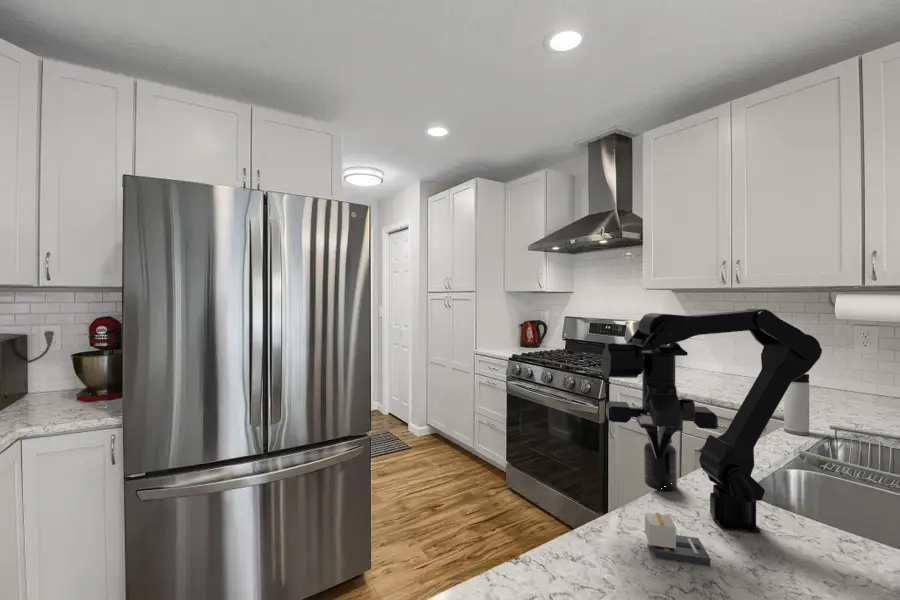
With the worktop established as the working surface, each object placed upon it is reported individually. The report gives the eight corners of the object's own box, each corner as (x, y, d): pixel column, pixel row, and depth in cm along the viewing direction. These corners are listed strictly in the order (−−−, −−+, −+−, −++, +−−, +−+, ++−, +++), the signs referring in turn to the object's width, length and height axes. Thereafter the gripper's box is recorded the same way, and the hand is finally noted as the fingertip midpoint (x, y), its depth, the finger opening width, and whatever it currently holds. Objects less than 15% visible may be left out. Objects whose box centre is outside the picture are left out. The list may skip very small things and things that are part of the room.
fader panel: (698, 544, 73) (698, 537, 73) (710, 566, 67) (710, 557, 67) (648, 538, 75) (648, 530, 75) (655, 558, 69) (656, 550, 69)
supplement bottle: (666, 478, 100) (666, 428, 100) (683, 491, 93) (683, 438, 93) (638, 479, 100) (638, 428, 100) (653, 492, 93) (653, 438, 93)
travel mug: (778, 429, 138) (778, 369, 138) (796, 429, 138) (796, 368, 138) (795, 436, 131) (796, 372, 131) (814, 435, 132) (814, 372, 132)
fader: (669, 535, 73) (669, 513, 73) (675, 548, 69) (675, 525, 69) (644, 532, 74) (644, 510, 74) (649, 544, 70) (649, 522, 70)
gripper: (612, 383, 75) (612, 470, 75) (729, 389, 71) (729, 481, 71) (605, 373, 86) (605, 448, 86) (707, 377, 81) (707, 457, 82)
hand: (658, 458), depth 81 cm, fingers closed
